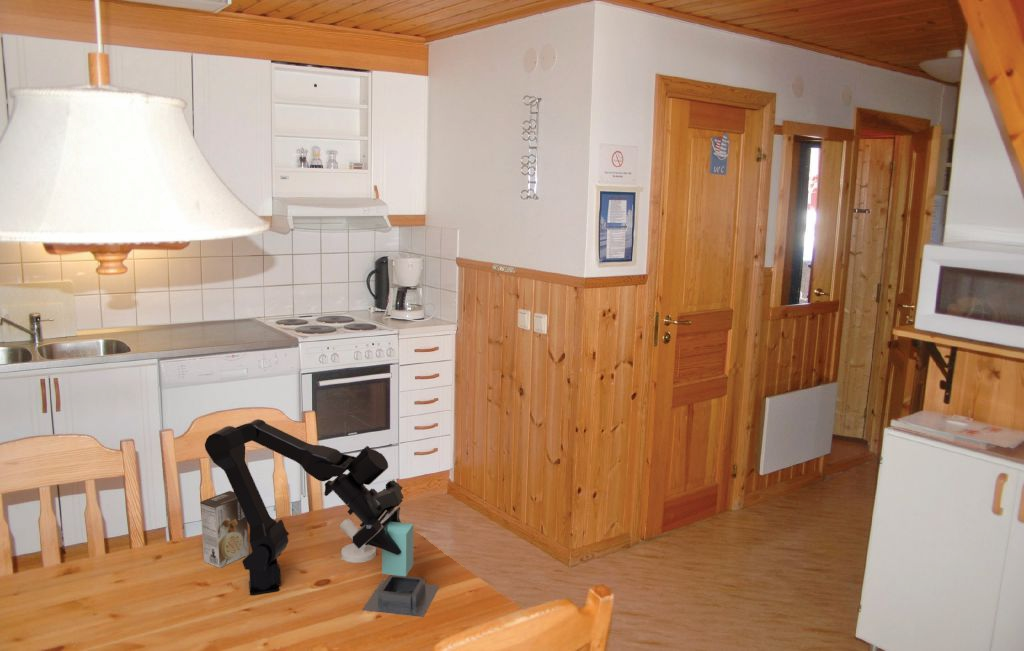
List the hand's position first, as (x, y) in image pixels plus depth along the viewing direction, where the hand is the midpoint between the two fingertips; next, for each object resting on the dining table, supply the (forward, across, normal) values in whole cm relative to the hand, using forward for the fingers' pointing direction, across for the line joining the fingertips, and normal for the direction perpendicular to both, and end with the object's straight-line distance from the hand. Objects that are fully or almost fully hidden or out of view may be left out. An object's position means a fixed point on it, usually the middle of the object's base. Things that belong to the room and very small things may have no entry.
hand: (403, 547), depth 176 cm
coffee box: (-25, +12, +45) cm, 53 cm away
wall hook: (-3, +19, +22) cm, 29 cm away
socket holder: (+9, 0, +10) cm, 13 cm away
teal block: (+3, 0, +5) cm, 6 cm away
